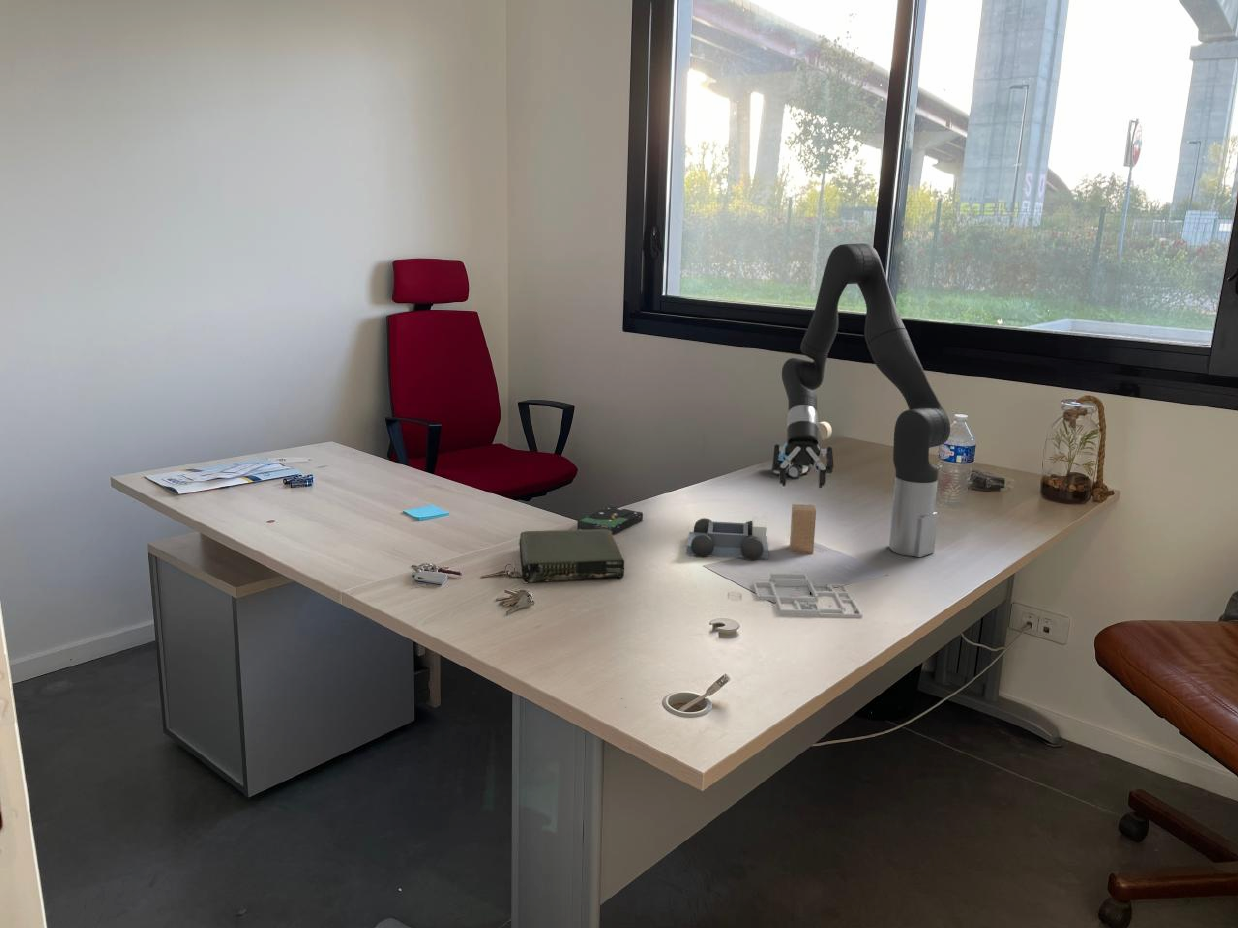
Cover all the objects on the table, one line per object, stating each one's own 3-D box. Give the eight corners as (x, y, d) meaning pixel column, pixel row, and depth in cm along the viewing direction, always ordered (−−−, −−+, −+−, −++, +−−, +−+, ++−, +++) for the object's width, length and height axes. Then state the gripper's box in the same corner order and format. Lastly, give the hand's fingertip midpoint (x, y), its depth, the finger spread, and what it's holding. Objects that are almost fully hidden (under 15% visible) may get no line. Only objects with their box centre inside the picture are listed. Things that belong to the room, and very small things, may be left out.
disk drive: (608, 515, 237) (576, 530, 225) (608, 505, 237) (576, 519, 224) (643, 522, 232) (612, 538, 220) (643, 512, 231) (613, 526, 219)
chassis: (766, 541, 217) (767, 513, 215) (767, 561, 204) (769, 531, 203) (689, 537, 219) (690, 509, 218) (686, 556, 207) (687, 526, 205)
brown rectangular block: (811, 546, 215) (814, 505, 212) (813, 553, 210) (816, 511, 207) (789, 545, 215) (792, 504, 213) (790, 552, 210) (793, 510, 208)
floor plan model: (721, 581, 194) (722, 572, 193) (841, 583, 194) (841, 574, 193) (730, 617, 176) (730, 607, 175) (862, 620, 175) (863, 610, 175)
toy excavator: (819, 483, 268) (823, 425, 264) (768, 474, 278) (771, 418, 274) (831, 477, 275) (835, 421, 271) (781, 468, 285) (784, 413, 281)
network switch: (525, 590, 187) (525, 567, 186) (507, 552, 209) (507, 531, 208) (635, 580, 193) (636, 557, 192) (607, 544, 215) (607, 523, 214)
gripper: (774, 418, 224) (773, 476, 216) (834, 420, 222) (835, 479, 214) (772, 435, 230) (771, 491, 222) (830, 437, 229) (831, 494, 220)
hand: (802, 485), depth 218 cm, fingers open, 8 cm apart
